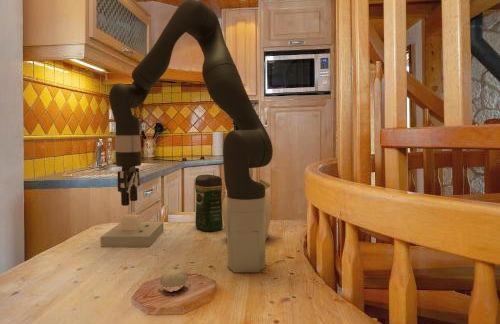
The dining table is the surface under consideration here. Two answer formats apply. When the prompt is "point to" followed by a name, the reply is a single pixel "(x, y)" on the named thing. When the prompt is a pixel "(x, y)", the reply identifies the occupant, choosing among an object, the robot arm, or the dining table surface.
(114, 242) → the socket
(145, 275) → the dining table surface
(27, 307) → the dining table surface
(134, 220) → the plug
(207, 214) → the coffee jar
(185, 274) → the garlic
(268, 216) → the jug
